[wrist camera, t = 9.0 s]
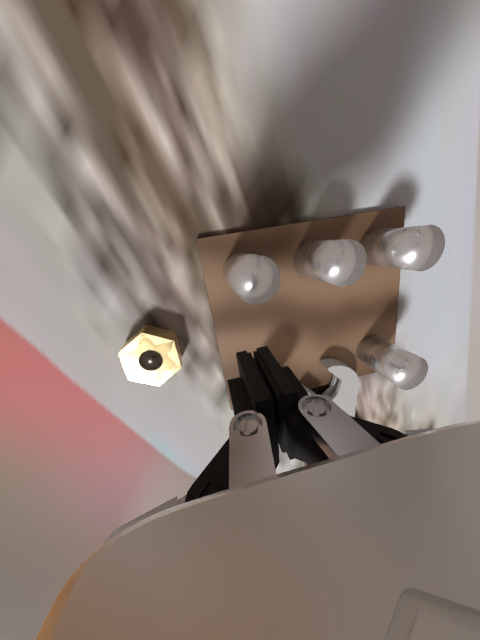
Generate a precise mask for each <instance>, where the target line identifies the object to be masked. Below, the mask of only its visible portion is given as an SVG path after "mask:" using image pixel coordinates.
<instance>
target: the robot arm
mask: <svg viewBox="0 0 480 640" xmlns="http://www.w3.org/2000/svg"><path fill="white" fill-rule="evenodd" d="M253 355H254V358H253V356H252V354H251V352H249V353H247V351H246V350H245V351H241V352H236V358H237V363H238V369H239V375H240V377H238V378H234V379H230V380H227V382H228V387H229V392H230V397H231V402H232V406H233V411H234V415H235V416H234V417H233V418H232V420H231V422H230V426H229V439H228V440H227V441H226V443H225V444H224V445H223V446H222V448H221V449H220V450H219V452H218V453H217V454H216V455H215V457H214V458H213V459H212V460H211V462H210V463H209V464H208V465H207V467H206V468H205V469H204V471H203V472H202V473H201V474H200V476H199V477H198V478H197V479H196V481H195V482H194V483H193V485H192V486H191V487H190V489H189V491H188V493H187V495H186V496H184V497H182V498H180V499H178V497H175V498H173V499H171V500H169V501H167V502H165V503H164V504H162V505H160V506H158V507H156V508H154V509H152V510H150V511H149V512H147V513H145V514H143V515H141V516H139V517H137V518H135V519H134V520H132V521H130V522H128V523H126V524H124V525H122V526H121V527H119V528H118V529H116V530H115V531H114V532H112V533H111V535H110V536H109V537H108V538H107V539H106V540H105V542H104V544H103V545H102V546H101V547H100V548H98V549H97V550H96V551H95V552H94V553H92V554H91V555H90V556H89V557H88V558H87V559H86V560H85V561H84V562H83V563H82V564H81V565H80V566H79V567H78V568H77V569H76V570H75V572H74V573H73V574H72V575H71V576H70V578H69V579H68V581H67V582H66V584H65V585H64V586H63V588H62V589H61V591H60V593H59V594H58V596H57V598H56V600H55V601H54V603H53V605H52V607H51V609H50V611H49V613H48V614H47V616H46V619H45V621H44V623H43V625H42V627H41V629H40V631H39V633H38V635H37V637H36V640H480V420H478V421H470V422H463V423H459V424H454V425H450V426H445V427H441V428H437V429H420V430H405V431H404V434H403V433H401V432H399V431H397V430H395V429H392V428H389V427H386V426H382V425H379V424H376V423H372V422H369V421H366V420H362V419H359V418H356V417H352V416H349V415H348V414H347V413H345V412H344V411H343V410H342V409H341V408H340V407H339V406H338V405H336V404H335V403H334V402H333V401H332V400H331V399H329V398H328V397H326V396H323V395H319V394H310V395H309V394H308V392H307V391H306V390H305V388H304V387H303V386H302V384H301V383H300V381H299V380H298V379H297V377H296V376H295V375H294V373H293V372H292V370H291V369H290V368H289V367H288V366H285V367H281V366H280V365H279V363H278V362H277V360H276V359H275V357H274V356H273V354H272V353H271V351H270V350H269V348H268V347H267V346H264V347H259V348H256V351H253ZM278 443H279V445H278ZM279 446H280V448H281V451H282V452H283V453H284V452H287V454H288V457H289V459H290V460H291V459H295V458H296V459H298V460H300V461H302V465H303V467H300V468H297V469H293V470H290V471H287V472H283V473H280V474H277V475H276V468H277V466H278V464H279Z"/></svg>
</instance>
